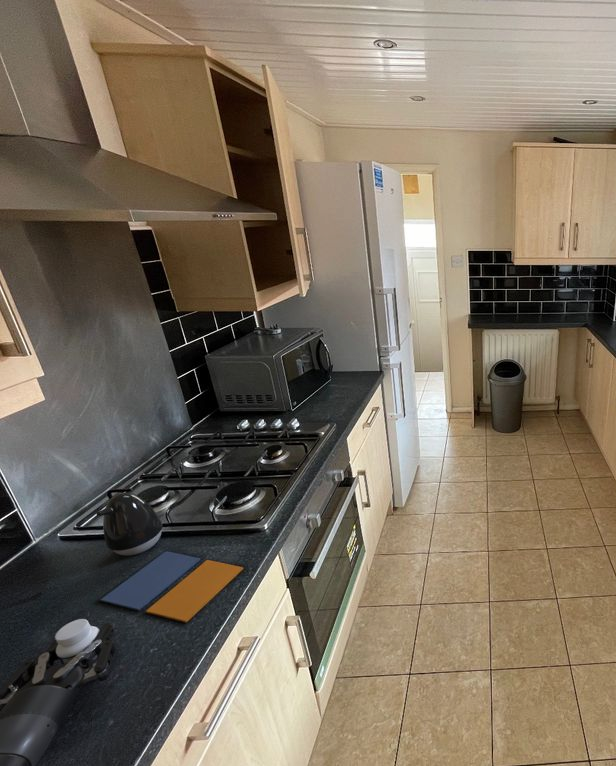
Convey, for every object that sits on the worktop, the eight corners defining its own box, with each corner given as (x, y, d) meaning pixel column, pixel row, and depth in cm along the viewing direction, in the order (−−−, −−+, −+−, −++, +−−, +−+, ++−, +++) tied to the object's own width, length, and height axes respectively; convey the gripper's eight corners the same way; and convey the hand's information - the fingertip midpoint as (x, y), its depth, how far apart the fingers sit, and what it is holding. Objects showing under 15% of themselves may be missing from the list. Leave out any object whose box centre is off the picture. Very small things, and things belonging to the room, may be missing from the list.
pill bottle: (80, 659, 75) (60, 620, 72) (118, 649, 77) (99, 610, 74) (64, 688, 71) (41, 648, 67) (104, 676, 72) (83, 637, 69)
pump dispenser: (99, 561, 97) (74, 508, 91) (141, 530, 106) (121, 480, 101) (138, 565, 96) (115, 511, 90) (177, 533, 105) (159, 483, 100)
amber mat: (186, 622, 82) (185, 621, 82) (146, 612, 84) (145, 610, 84) (243, 568, 95) (243, 567, 95) (207, 561, 97) (207, 559, 97)
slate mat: (138, 610, 85) (138, 609, 84) (101, 601, 87) (100, 599, 87) (200, 559, 97) (200, 558, 97) (166, 552, 99) (165, 551, 99)
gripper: (74, 700, 60) (130, 604, 75) (-62, 737, 56) (26, 628, 70) (93, 732, 63) (143, 633, 78) (-35, 770, 58) (45, 658, 73)
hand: (87, 631), depth 74 cm, fingers closed on pill bottle, 5 cm apart
